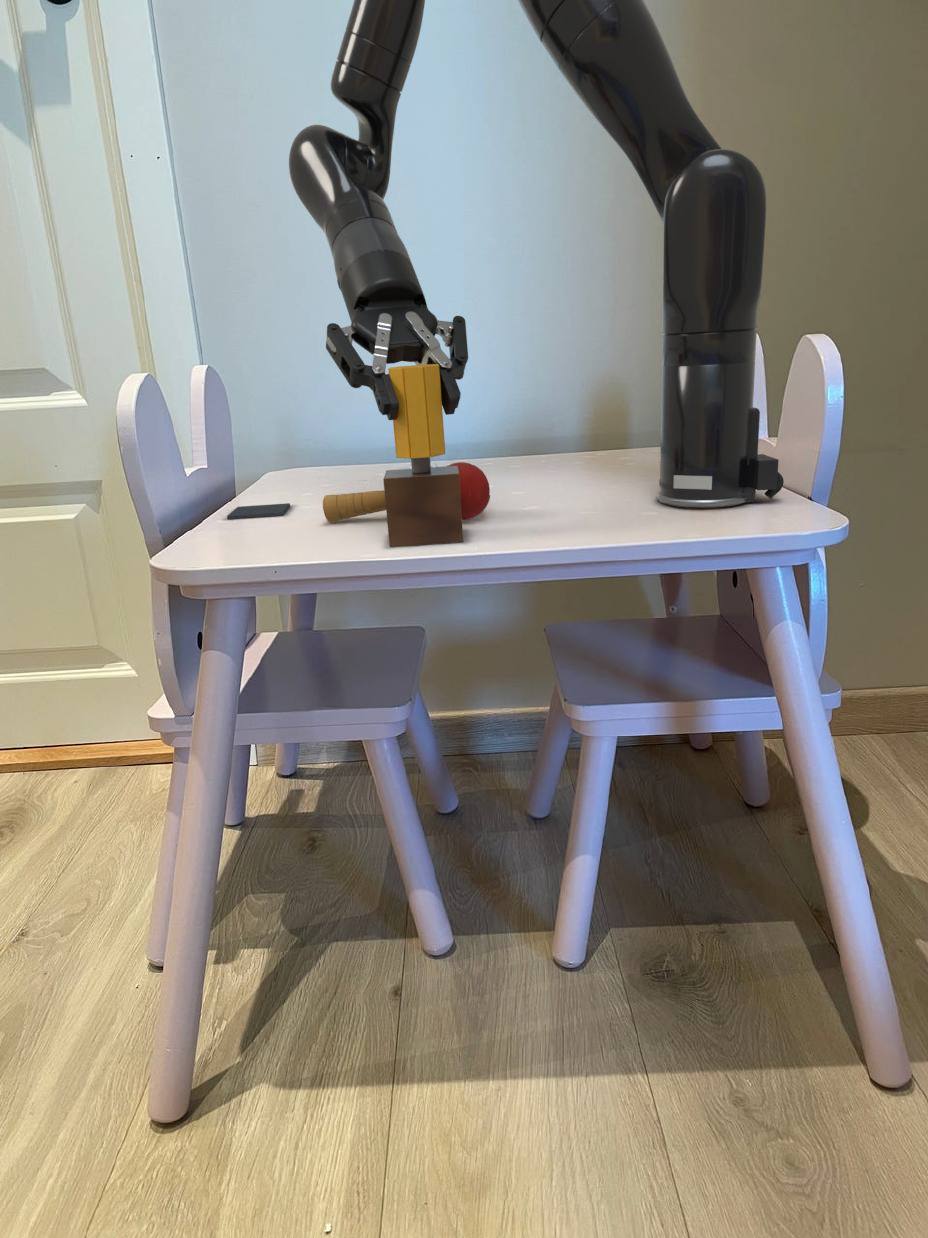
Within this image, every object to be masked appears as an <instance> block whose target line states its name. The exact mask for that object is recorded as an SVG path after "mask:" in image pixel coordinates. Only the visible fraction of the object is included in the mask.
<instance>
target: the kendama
mask: <svg viewBox="0 0 928 1238" xmlns="http://www.w3.org/2000/svg"><path fill="white" fill-rule="evenodd" d="M448 466H458V471H459V479H460V495H461V511H462V521H465V520H470V519H473V518H476V517H477V516H479V515H481V514H482V513H483V512H484V511H485V510H486V508H487V507H488V504H489V502H490V499H491V494H490V493H491V491H490V490H491V487H490V483H489V479H488V477H487V475H486V474H485V473H484V471H483V470H482V469H480V468H479V467H478V466H477V465H474V464H472V463H469V462H463V461H459V462H455V463H454V462H453V463H451V464H449V465H448ZM322 510H323V513H324V517H325V519H326V521H327V522H329V523H335V522H339V521H344V520H348V519H351V518H356V517H359V516H360V517H361V516H366V515H370V514H374V513H375V514H376V513H380V512H383V511H386V503H385V492H384V490H371V491H364V492H362V491H361V492H351V493H340V494H326V495H324V497H323V499H322Z"/></svg>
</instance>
